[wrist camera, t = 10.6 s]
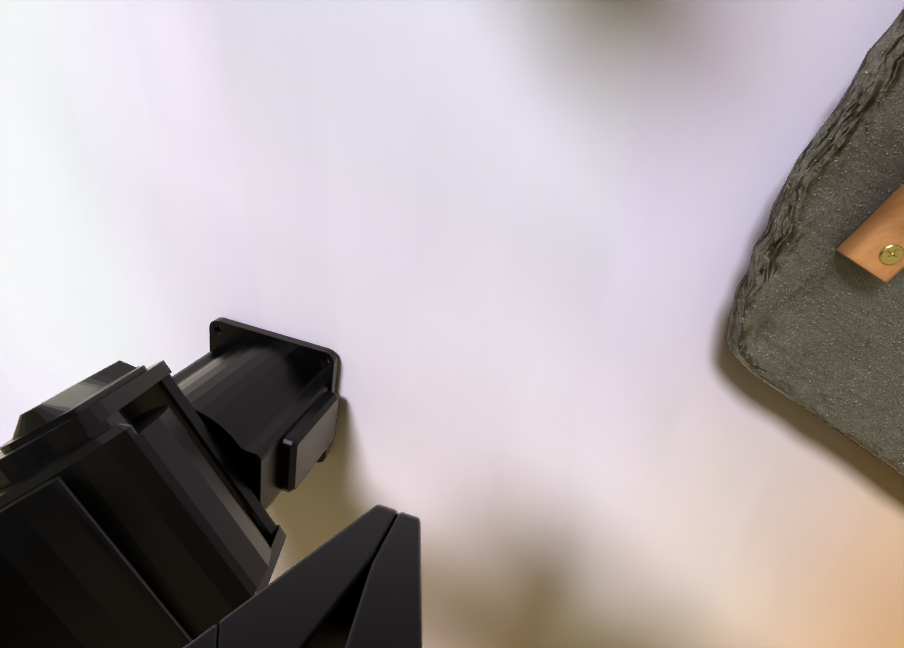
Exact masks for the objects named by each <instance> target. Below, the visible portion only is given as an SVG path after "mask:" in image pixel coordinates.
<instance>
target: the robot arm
mask: <svg viewBox="0 0 904 648" xmlns="http://www.w3.org/2000/svg"><path fill="white" fill-rule="evenodd" d="M219 326H221V327H222V329H223V331H222V330H221V329H220V327H219ZM209 331H210V352H209V353H208V354H206V355H205V356H203V357H201V358H200V359H198V360H197V361H195V362H194V363H192V364H191V365H189V366H188V367H186V368H185V369H183V370H181V371H180V372H178V373H177V374H175V375H174V376H172V377H171V375H170V373H171V370H170V369H169V367H168V366H167V365H166V363H165V362H164V360H163V361H161V362H159V363H157V364H155V365H153V366H151V367H149V368H147V369H146V367H145V366H144V365H143V366H141V367H139V366H138V367H134V366H131V365H129V364H127V363H124V362H122V361H118V362H116V363H114V364H112V365H110V366H108V367H106V368H105V369H103V370H101V371H99V372H97V373H95V374H94V375H92V376H90V377H88V378H86V379H84V380H83V381H81V382H79V383H77V384H75V385H73V386H72V387H70V388H68V389H66V390H64V391H63V392H61V393H59V394H57V395H55V396H54V397H52V398H50V399H48V400H47V401H45V402H43V403H41V404H39V405H38V406H36V407H34V408H32V409H31V410H29V411H27V412H25V413H24V414H22V415H20V417H19V420H18V423H17V426H16V429H15V432H14V435H13V438H12V439H11V440H10V441H8V442H7V443H5V444H4V445H3V446H1V447H0V450H1V452H0V648H422V589H421V527H420V519H419V518H418V517H415V516H412V515H409V514H406V513H403V512H401V513H399V514H398V512H397V511H396V510H395V509H392V508H389V507H386V506H383V505H376V506H375V507H373V508H372V509H370V510H369V511H368V512H366V513H365V514H364V515H362V516H361V517H360V518H358V519H357V520H356V521H354V522H353V523H352V524H350V525H349V526H347V527H346V528H345V529H343V530H342V531H341V532H339V533H338V534H337V535H335V536H334V537H333V538H331V539H330V540H329V541H327V542H326V543H324V544H323V545H322V546H320V547H319V548H318V549H316V550H315V551H314V552H312V553H311V554H310V555H308V556H307V557H306V558H304V559H303V560H301V561H300V562H299V563H297V564H296V565H295V566H293V567H292V568H291V569H289V570H288V571H287V572H285V573H284V574H283V575H281V576H280V577H279V578H277V579H276V580H274V581H273V582H272V583H270V584H269V581H270V579H271V576H272V573H273V571H274V568H275V565H276V563H277V560H278V557H279V555H280V552H281V549H282V547H283V544H284V541H285V539H286V534H285V533H284V531H283V530H282V528H281V527H280V526H279V525H276V524H275V523H274V521H273V520H272V519H271V517H270V516H269V514H268V513H267V511H266V509H267V508H268V507H269V506H270V504H271V503H272V502H273V501H274V499H275V498H276V497H277V496H278V494H279V493H280V492H281V491H282V490H284V491H287V492H291V491H293V490H295V489H296V488H297V486H298V485H299V484H300V483H301V481H302V480H303V479H304V477H305V476H306V475H307V473H308V472H309V471H310V470H311V468H312V467H313V466H314V464H315V463H316V462H323V461H324V460H325V458H326V457H327V456H328V454H329V447H330V443H331V442H332V441H333V440H334V438H335V430H336V421H337V411H338V401H339V398H338V396H337V394H336V393H335V386H336V376H337V366H338V357H337V355H336V353H335V352H334V351H333V350H331V349H329V348H325V347H322V346H319V345H315V344H312V343H308V342H305V341H301V340H298V339H295V338H291V337H288V336H284V335H281V334H278V333H274V332H271V331H267V330H264V329H260V328H257V327H254V326H250V325H247V324H243V323H240V322H237V321H233V320H230V319H226V318H221V317H220V318H218V319H216V320H214V321H212V322H211V324H210V327H209ZM323 357H326V358H327V359H328V360H329V363H328V362H326V361H325V360H324V358H323ZM268 584H269V585H268Z"/></svg>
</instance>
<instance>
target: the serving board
mask: <svg viewBox="0 0 904 648" xmlns="http://www.w3.org/2000/svg"><path fill="white" fill-rule="evenodd" d="M726 341H727V343H728V346H729V348H730V351H731V353H732V354H733V355H734V356H735V357H736V358H737V359H738V360H739V361H740V362H741V363H742V364H743V365H744V366H745V367H746V368H747V369H748V370H749V371H750V372H751V373H753V374H754V375H755V376H757V377H758V378H760V379H761V380H762V381H764V382H765V383H766V384H768V385H769V386H771V387H772V388H774V389H775V390H777V391H778V392H780V393H781V394H783V395H784V396H786V397H787V398H789V399H790V400H792V401H793V402H795V403H796V404H798V405H800V406H801V407H803V408H805V409H806V410H808V411H809V412H811V413H812V414H813V415H815V416H816V417H817V418H819V419H820V420H822V421H823V422H825V423H826V424H828V425H830V426H831V427H833V428H834V429H836V430H837V431H839V432H840V433H842V434H843V435H844V436H846V437H847V438H849V439H850V440H851V441H853V442H854V443H856V444H857V445H858V446H860V447H861V448H863V449H864V450H866V451H867V452H869V453H870V454H871V455H873V456H875V457H877V458H878V459H880V460H882V461H884V462H885V463H886V464H888V465H889V466H890V467H892V468H893V469H894V470H895V471H897V472H898V473H899V474H900V475H902V476H903V477H904V9H903V10H902V11H901V13H900V14H899V15H898V17H897V18H896V19H895V21H894V22H893V24H892V25H891V26H890V27H889V28H888V30H887V31H886V32H885V33H884V34H883V35H882V36H881V37H880V39H879V40H878V41H877V42H876V43H875V44H874V45H873V46H872V48H871V49H870V50H869V51H868V52H867V54H866V56H865V58H864V60H863V62H862V64H861V66H860V68H859V70H858V71H857V73H856V75H855V77H854V79H853V81H852V83H851V85H850V86H849V88H848V90H847V91H846V93H845V94H844V96H843V98H842V99H841V101H840V103H839V104H838V106H837V107H836V109H835V110H834V112H833V113H832V114H831V116H830V117H829V118H828V120H827V121H826V122H825V124H824V125H823V126H822V127H821V129H820V130H819V131H818V133H817V134H816V135H815V137H814V138H813V139H812V141H811V142H810V143H809V144H808V146H807V147H806V148H805V150H804V151H803V152H802V154H801V155H800V156H799V158H798V159H797V161H796V163H795V165H794V167H793V169H792V171H791V173H790V175H789V176H788V178H787V180H786V182H785V184H784V186H783V188H782V190H781V191H780V193H779V195H778V197H777V199H776V201H775V203H774V205H773V207H772V211H771V215H770V219H769V223H768V227H767V230H766V231H765V233H764V234H763V235H762V237H761V238H760V239H759V241H758V242H757V244H756V245H755V246H754V250H753V254H752V258H751V262H750V266H749V270H748V272H747V273H746V275H745V277H744V278H743V280H742V281H741V283H740V285H739V286H738V288H737V290H736V294H735V298H734V302H733V306H732V310H731V315H730V321H729V326H728V332H727V337H726Z"/></svg>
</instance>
